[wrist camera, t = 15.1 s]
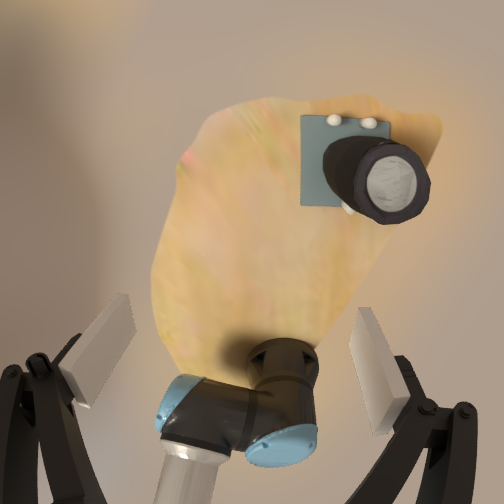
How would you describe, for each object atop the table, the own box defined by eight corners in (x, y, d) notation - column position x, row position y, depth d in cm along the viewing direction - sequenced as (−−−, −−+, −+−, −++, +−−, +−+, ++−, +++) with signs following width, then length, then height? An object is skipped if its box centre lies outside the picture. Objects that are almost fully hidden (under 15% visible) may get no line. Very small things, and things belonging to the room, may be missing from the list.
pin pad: (383, 207, 44) (394, 215, 40) (300, 205, 46) (303, 213, 41) (387, 121, 39) (399, 121, 34) (300, 115, 40) (303, 112, 35)
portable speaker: (384, 165, 41) (450, 191, 23) (341, 202, 44) (383, 251, 26) (349, 122, 39) (404, 118, 21) (305, 161, 42) (329, 183, 24)
